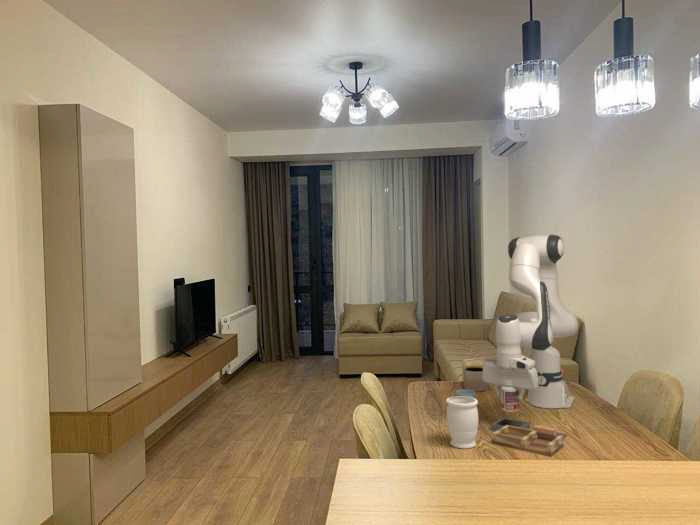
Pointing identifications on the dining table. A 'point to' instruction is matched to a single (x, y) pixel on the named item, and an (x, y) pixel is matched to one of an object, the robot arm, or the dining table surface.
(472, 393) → the cup
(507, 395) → the pill bottle
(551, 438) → the grey metal lipped plate
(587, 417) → the dining table surface
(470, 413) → the jar
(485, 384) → the planter
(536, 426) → the pink rectangular block
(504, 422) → the socket collar
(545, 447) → the rack
